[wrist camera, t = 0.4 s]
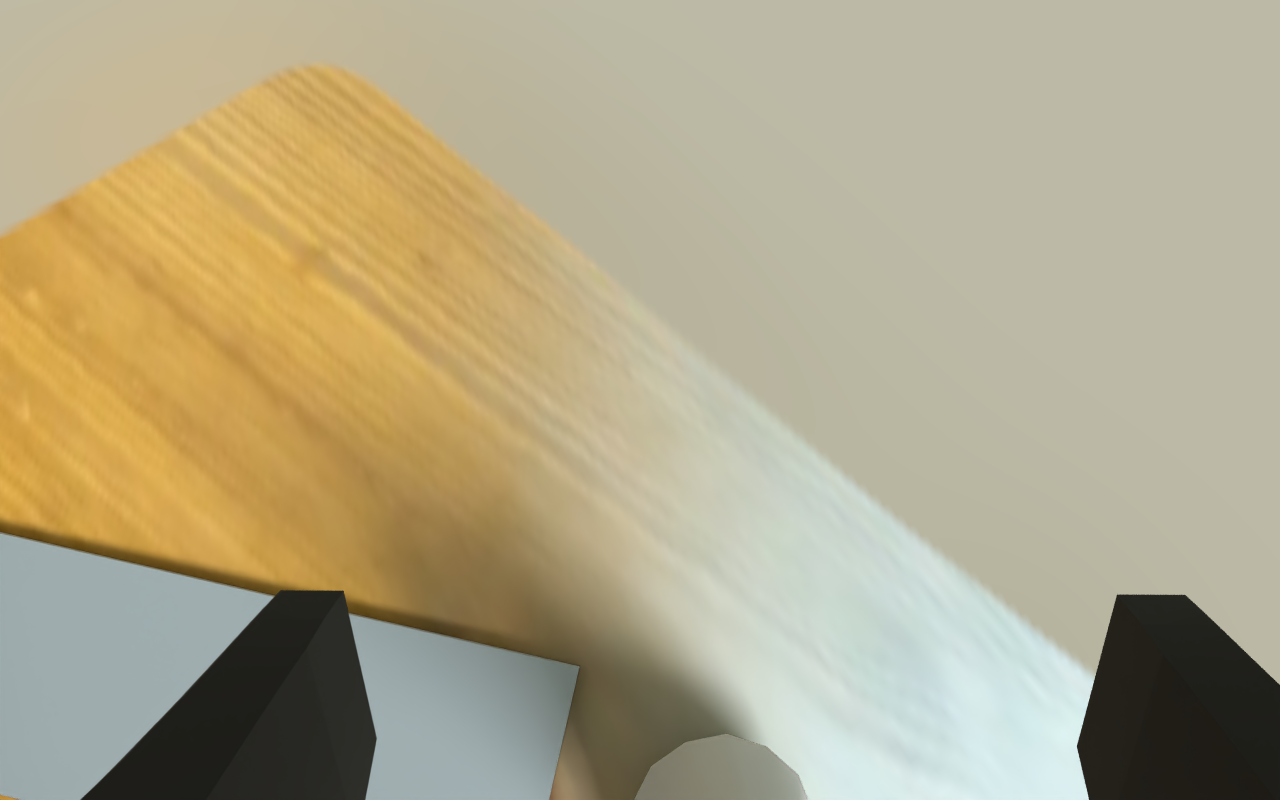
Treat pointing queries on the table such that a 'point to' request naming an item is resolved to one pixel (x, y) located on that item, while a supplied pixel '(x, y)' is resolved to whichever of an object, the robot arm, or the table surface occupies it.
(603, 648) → the table surface
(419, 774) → the mat
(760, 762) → the salt shaker
